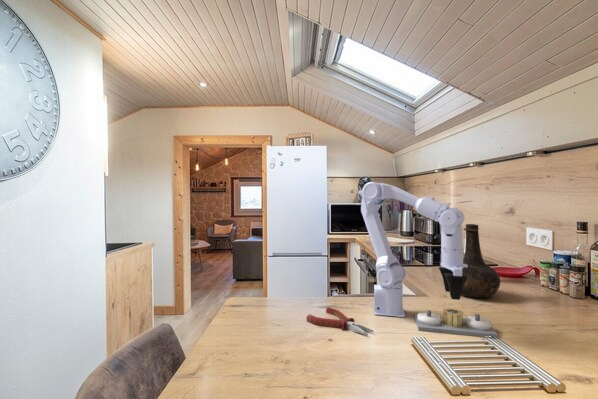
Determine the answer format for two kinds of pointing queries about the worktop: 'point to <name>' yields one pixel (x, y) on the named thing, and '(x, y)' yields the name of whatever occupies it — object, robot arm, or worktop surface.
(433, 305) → the worktop surface
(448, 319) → the brass gear
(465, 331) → the gear board
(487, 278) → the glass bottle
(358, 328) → the pliers
